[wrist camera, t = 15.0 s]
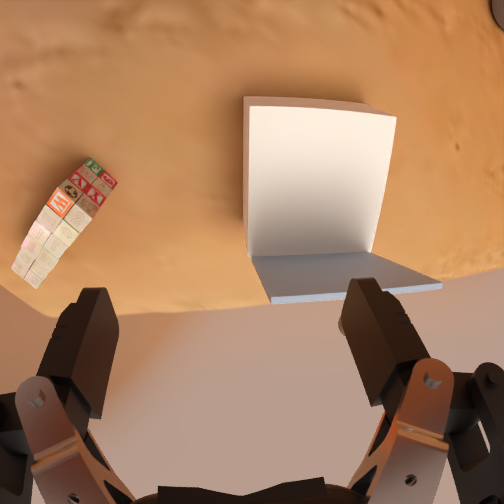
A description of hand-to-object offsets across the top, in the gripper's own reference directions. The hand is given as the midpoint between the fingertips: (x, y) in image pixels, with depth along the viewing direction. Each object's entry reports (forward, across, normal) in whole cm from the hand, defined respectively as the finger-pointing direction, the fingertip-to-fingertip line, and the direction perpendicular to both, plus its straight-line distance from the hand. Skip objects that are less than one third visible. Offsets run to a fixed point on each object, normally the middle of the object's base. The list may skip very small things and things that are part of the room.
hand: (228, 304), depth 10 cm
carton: (+38, -12, +8) cm, 41 cm away
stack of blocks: (+38, +26, +15) cm, 49 cm away
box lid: (+20, -12, +14) cm, 27 cm away
